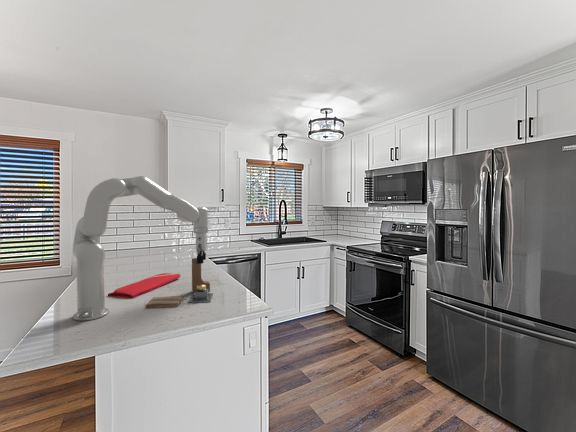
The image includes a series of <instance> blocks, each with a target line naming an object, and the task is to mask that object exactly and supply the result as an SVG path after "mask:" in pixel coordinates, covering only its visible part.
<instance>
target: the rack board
mask: <svg viewBox="0 0 576 432" xmlns="http://www.w3.org/2000/svg"><path fill="white" fill-rule="evenodd" d="M183 300H184V295H175V296H174V295H173V296H169V295H168V296H154V297H152V298H151V299H150V300H149V301H148V302H147V303H146V304H145V308H146V309H150V308H151V309H153V308H171V307H173V308H174V307H175V308H176V307H179V306H180V304H182V301H183Z"/></svg>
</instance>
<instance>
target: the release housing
mask: <svg viewBox="0 0 576 432" xmlns="http://www.w3.org/2000/svg"><path fill="white" fill-rule="evenodd" d="M212 297H214V293H213V292H209V291H208V288H206V290H203V291H198V290H197V289H196V290H195V292H194V293H192V295H191V296H190V299H189V301H188V303H189V304H195V303H199V304H200V303H211V302H212V299H213V298H212Z"/></svg>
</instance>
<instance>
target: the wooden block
mask: <svg viewBox="0 0 576 432" xmlns="http://www.w3.org/2000/svg"><path fill="white" fill-rule="evenodd" d="M201 284H204V285H206V288H208V292H210V291H211V283H210V281H207V280H203V278H202V263H201V264H197V257H196V258H195V257H194V258H191V292H192V294H194V292H195V290H196V289H197V285H201Z"/></svg>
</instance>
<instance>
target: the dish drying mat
mask: <svg viewBox="0 0 576 432" xmlns="http://www.w3.org/2000/svg"><path fill="white" fill-rule="evenodd" d="M180 277H181V274H179V273H168V272H167V273H166V272H165V273H159V274H155V275H153V276H150V277H147V278H144V279H141V280H139V281H135V282H134V283H130V284H127V285H124V286H121V287H118V288H116V289H114V291H112V292H109V293H108V294H107V297H112V298H113V297H114V298H122V299H123V298H125V299H134V298H137V297H140V296H142V295H144V294H146V293H147V294H148V292H151V291H153V290H156V289H158V288H161V287H163V286H165V285H167V284H169V283H172V282H174V281H175V280H178V279H179V278H180Z"/></svg>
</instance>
